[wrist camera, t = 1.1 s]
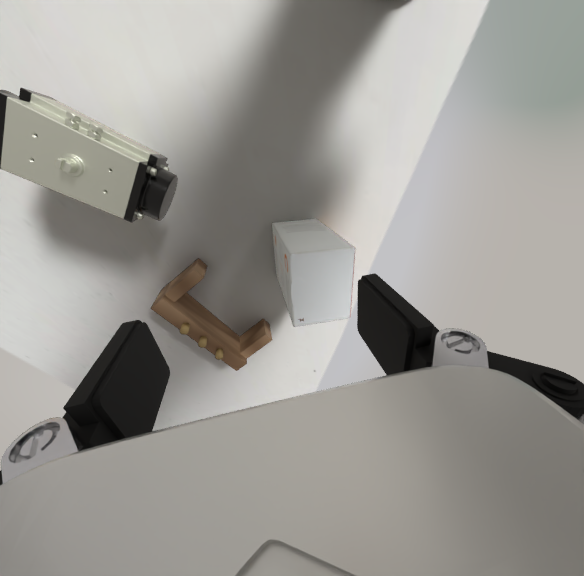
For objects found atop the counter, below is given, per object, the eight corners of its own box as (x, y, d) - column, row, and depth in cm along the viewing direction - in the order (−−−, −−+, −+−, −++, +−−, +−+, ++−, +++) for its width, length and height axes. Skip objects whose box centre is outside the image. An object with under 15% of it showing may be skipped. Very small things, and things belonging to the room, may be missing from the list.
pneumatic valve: (178, 207, 30) (146, 234, 20) (62, 154, 26) (-58, 152, 15) (194, 162, 28) (168, 165, 18) (72, 97, 24) (-56, 51, 14)
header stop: (198, 258, 33) (191, 277, 28) (269, 324, 40) (274, 349, 35) (161, 289, 34) (147, 313, 29) (236, 348, 41) (236, 377, 36)
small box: (317, 271, 38) (351, 320, 26) (276, 276, 37) (292, 329, 25) (317, 216, 34) (357, 246, 22) (271, 221, 33) (287, 254, 22)
